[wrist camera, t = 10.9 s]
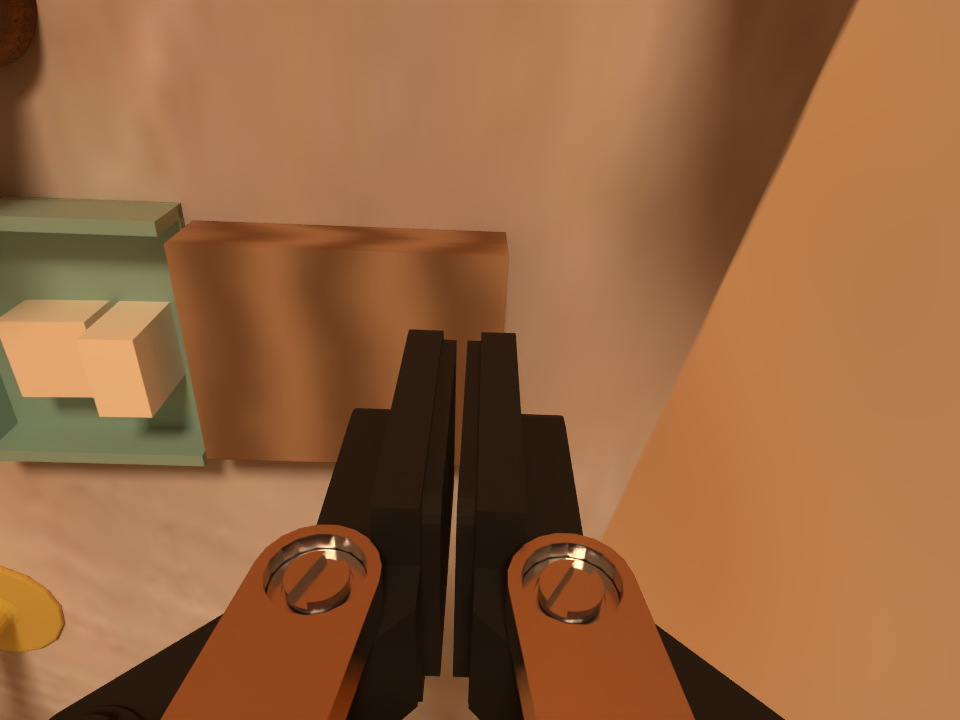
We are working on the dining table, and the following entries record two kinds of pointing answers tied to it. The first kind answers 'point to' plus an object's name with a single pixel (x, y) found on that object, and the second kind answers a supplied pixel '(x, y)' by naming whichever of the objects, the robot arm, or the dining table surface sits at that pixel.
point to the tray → (91, 276)
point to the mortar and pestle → (16, 28)
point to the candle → (27, 613)
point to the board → (320, 324)
